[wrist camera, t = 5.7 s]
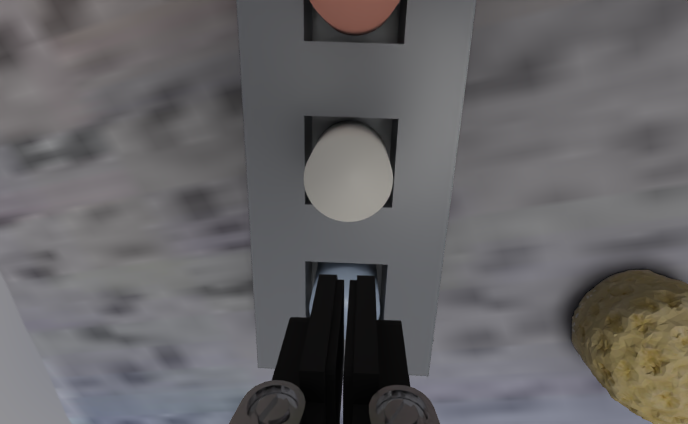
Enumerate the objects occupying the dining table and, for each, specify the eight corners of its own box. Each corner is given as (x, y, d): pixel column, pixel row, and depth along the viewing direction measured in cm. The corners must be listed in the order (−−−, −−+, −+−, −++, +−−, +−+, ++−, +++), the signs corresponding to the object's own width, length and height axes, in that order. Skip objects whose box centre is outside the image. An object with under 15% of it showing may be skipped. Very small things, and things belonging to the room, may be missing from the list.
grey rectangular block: (253, -123, 23) (226, -171, 18) (468, -119, 22) (497, -166, 18) (272, 324, 33) (257, 367, 29) (418, 331, 33) (428, 375, 28)
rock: (543, 334, 37) (613, 456, 30) (557, 274, 29) (658, 426, 22) (648, 299, 36) (743, 418, 30) (694, 228, 28) (842, 371, 21)
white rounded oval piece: (314, 119, 24) (303, 133, 19) (389, 122, 24) (396, 137, 19) (314, 190, 25) (303, 220, 21) (384, 193, 25) (390, 223, 21)
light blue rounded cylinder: (317, 242, 29) (309, 277, 24) (378, 245, 29) (382, 280, 24) (316, 295, 31) (309, 337, 26) (375, 298, 31) (377, 340, 26)
